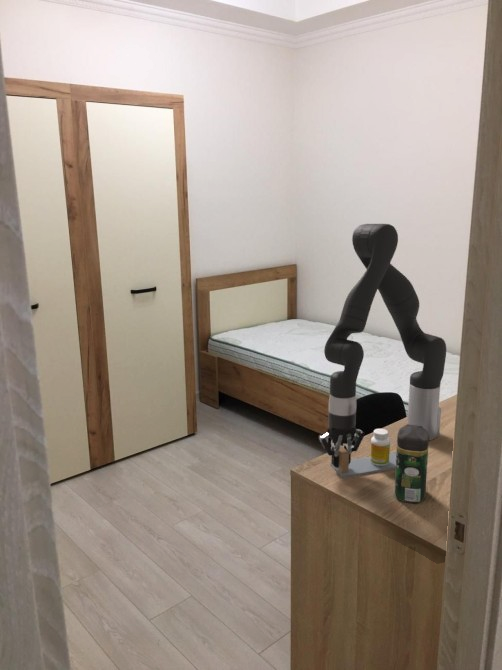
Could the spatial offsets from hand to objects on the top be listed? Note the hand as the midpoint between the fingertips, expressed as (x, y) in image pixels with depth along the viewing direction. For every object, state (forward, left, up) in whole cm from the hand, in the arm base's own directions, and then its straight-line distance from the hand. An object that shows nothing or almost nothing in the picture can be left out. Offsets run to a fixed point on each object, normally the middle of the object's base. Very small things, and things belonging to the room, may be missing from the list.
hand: (340, 465), depth 163 cm
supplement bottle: (-12, 0, -1) cm, 12 cm away
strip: (-12, 0, -2) cm, 12 cm away
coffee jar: (-12, +17, -2) cm, 21 cm away
